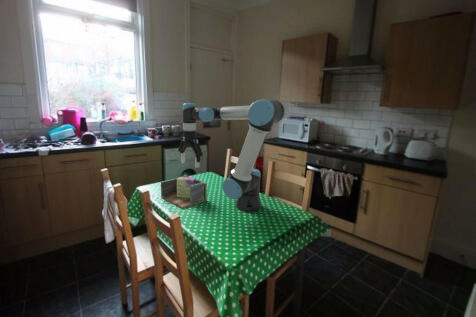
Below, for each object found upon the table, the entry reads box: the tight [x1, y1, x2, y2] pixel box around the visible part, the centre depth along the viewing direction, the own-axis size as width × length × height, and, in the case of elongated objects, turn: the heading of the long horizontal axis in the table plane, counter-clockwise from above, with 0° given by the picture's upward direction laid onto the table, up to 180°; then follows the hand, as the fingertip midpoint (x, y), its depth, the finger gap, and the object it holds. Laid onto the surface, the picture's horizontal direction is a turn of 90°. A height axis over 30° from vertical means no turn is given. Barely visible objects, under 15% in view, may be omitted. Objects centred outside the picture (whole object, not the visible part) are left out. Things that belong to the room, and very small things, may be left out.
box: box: [177, 176, 197, 198], centre depth 157 cm, size 10×6×12 cm, turn 85°
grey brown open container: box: [160, 174, 208, 210], centre depth 156 cm, size 22×18×12 cm
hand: (190, 165), depth 153 cm, fingers open, 13 cm apart
